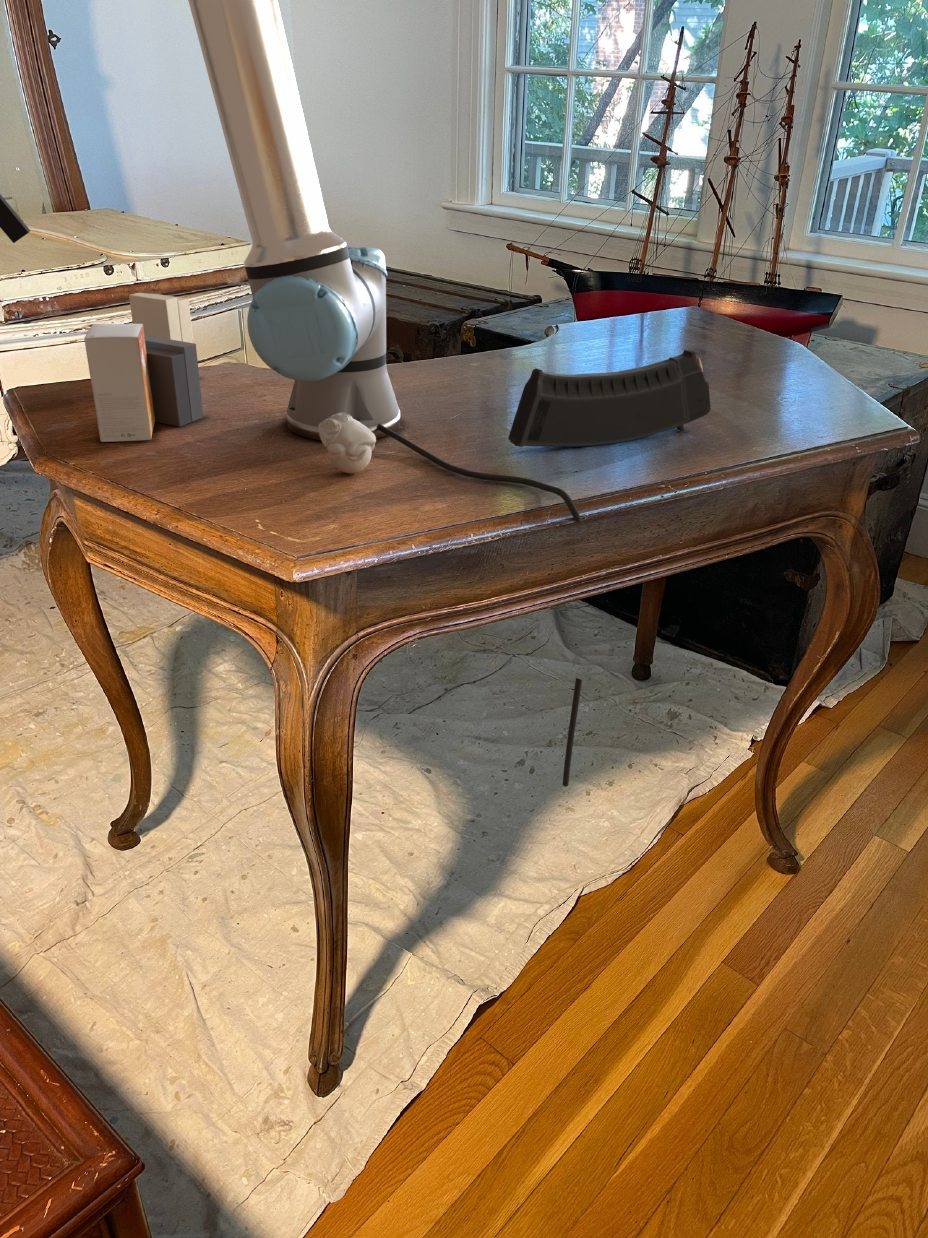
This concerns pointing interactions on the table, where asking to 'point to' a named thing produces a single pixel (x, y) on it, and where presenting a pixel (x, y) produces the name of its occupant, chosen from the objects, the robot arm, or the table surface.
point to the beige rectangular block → (162, 316)
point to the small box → (120, 381)
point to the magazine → (610, 404)
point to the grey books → (174, 381)
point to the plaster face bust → (347, 442)
